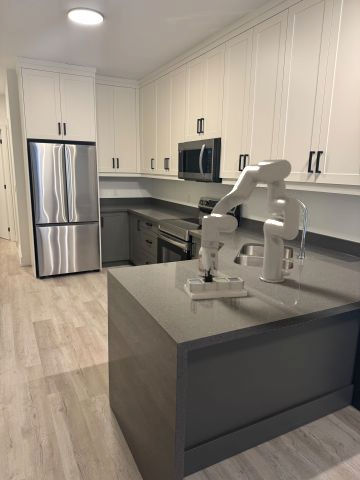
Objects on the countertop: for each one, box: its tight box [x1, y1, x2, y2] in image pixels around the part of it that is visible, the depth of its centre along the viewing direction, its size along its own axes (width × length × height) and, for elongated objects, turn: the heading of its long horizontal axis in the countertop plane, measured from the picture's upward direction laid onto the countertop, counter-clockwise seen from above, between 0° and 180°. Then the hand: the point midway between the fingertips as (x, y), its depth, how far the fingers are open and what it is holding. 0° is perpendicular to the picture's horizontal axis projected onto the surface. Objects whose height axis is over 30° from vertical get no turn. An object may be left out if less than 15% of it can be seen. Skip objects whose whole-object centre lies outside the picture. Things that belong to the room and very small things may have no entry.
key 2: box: [215, 279, 227, 282], centre depth 147 cm, size 4×4×2 cm
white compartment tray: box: [183, 276, 248, 300], centre depth 147 cm, size 25×14×6 cm, turn 102°
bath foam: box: [197, 246, 205, 277], centre depth 170 cm, size 7×7×20 cm
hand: (208, 284), depth 146 cm, fingers closed
